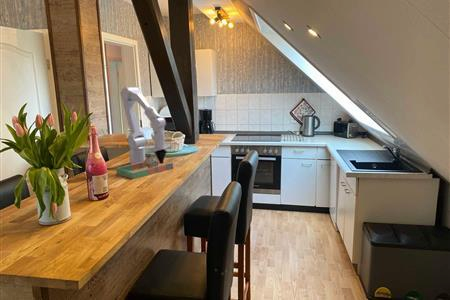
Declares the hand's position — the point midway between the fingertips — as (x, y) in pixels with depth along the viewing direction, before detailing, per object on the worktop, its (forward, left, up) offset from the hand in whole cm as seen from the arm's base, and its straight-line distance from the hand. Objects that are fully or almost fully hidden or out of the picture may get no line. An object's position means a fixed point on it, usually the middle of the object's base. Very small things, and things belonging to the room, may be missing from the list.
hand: (161, 163), depth 184 cm
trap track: (0, -10, -2) cm, 10 cm away
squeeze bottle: (-12, -33, -2) cm, 35 cm away
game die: (0, -6, -2) cm, 6 cm away
